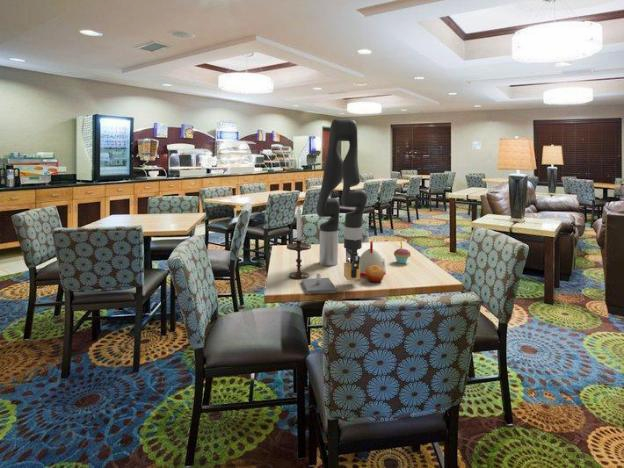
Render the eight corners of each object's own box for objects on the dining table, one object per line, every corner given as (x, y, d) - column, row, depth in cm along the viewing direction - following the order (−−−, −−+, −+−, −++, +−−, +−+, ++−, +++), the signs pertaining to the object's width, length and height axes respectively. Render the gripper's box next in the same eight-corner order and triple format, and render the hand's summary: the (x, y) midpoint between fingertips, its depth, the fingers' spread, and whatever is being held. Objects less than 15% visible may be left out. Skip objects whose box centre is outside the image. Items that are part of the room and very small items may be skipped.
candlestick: (308, 280, 190) (308, 201, 184) (284, 279, 192) (283, 201, 186) (312, 273, 201) (313, 198, 194) (290, 272, 203) (289, 198, 196)
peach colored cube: (343, 275, 188) (344, 262, 186) (356, 275, 189) (356, 262, 187) (347, 279, 182) (347, 266, 181) (359, 279, 183) (360, 265, 182)
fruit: (381, 274, 196) (383, 261, 191) (383, 287, 190) (386, 275, 185) (363, 274, 196) (365, 261, 190) (365, 287, 190) (367, 275, 184)
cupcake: (390, 260, 225) (391, 238, 223) (404, 259, 228) (406, 237, 225) (398, 264, 217) (399, 241, 215) (413, 263, 220) (414, 240, 217)
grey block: (301, 282, 188) (301, 268, 187) (328, 281, 190) (328, 267, 189) (307, 294, 172) (307, 279, 171) (336, 292, 174) (336, 278, 173)
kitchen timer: (384, 269, 208) (385, 239, 205) (386, 278, 195) (387, 245, 192) (355, 269, 210) (356, 238, 207) (355, 277, 196) (356, 245, 193)
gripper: (340, 233, 188) (339, 271, 192) (348, 241, 174) (347, 281, 178) (357, 233, 189) (355, 270, 193) (366, 240, 175) (365, 280, 179)
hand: (351, 275), depth 185 cm, fingers closed on peach colored cube, 5 cm apart
